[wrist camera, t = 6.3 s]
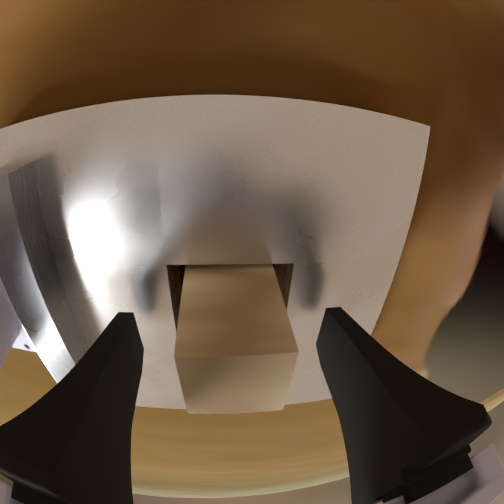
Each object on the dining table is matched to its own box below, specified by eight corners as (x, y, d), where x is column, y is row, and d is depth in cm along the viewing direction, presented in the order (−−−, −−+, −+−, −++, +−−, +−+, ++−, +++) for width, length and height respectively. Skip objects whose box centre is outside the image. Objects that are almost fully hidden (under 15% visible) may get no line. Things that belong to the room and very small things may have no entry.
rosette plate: (77, 362, 17) (60, 415, 13) (5, 128, 9) (-59, 152, 5) (328, 362, 19) (347, 416, 15) (389, 116, 11) (458, 134, 7)
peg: (194, 289, 14) (188, 413, 8) (191, 232, 13) (173, 356, 7) (257, 288, 15) (282, 409, 9) (262, 231, 13) (299, 352, 7)
